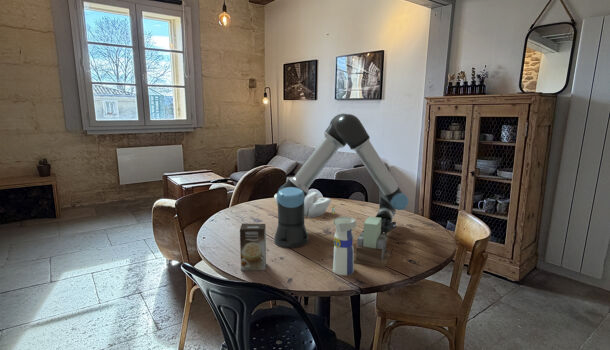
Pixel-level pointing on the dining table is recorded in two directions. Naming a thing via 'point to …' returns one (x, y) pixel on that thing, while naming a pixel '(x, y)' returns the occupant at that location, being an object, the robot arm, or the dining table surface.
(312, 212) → the wavy white extrusion
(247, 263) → the food box
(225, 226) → the dining table surface
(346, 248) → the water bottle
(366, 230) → the sage block
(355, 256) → the band guide
